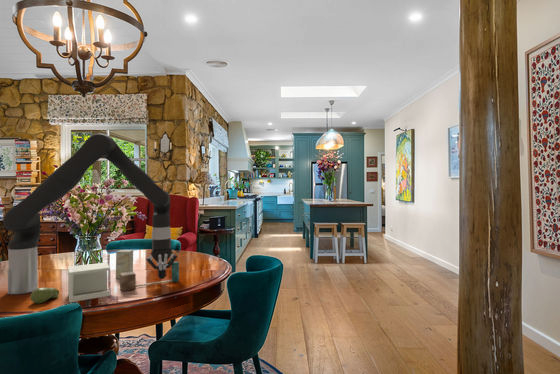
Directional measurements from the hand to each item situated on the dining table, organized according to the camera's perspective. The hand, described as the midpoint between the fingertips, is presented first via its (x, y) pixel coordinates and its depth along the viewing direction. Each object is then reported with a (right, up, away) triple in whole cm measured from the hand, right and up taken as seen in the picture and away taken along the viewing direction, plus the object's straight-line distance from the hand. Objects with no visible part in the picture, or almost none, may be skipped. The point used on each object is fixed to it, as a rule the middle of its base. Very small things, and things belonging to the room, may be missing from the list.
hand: (162, 278), depth 144 cm
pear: (-35, -3, -20) cm, 41 cm away
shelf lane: (-22, -2, -14) cm, 26 cm away
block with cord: (-4, -2, -2) cm, 5 cm away
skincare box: (-21, -3, +12) cm, 24 cm away
